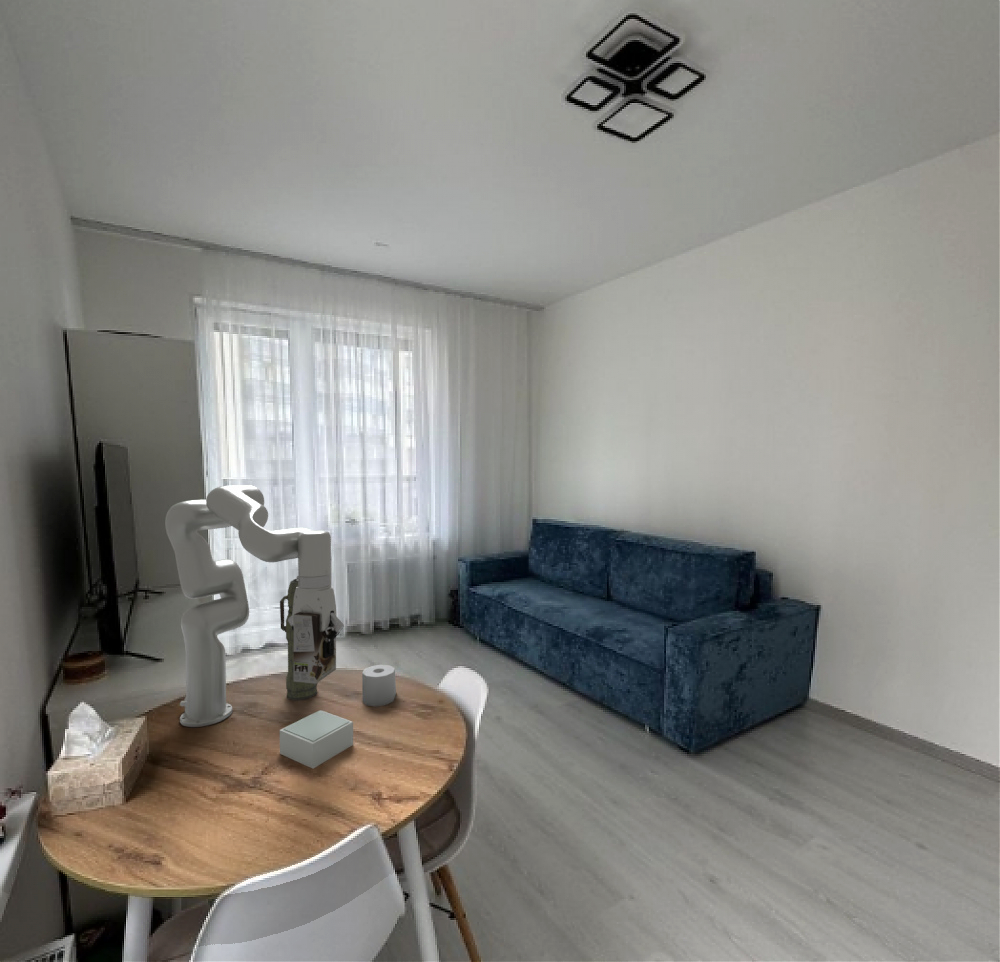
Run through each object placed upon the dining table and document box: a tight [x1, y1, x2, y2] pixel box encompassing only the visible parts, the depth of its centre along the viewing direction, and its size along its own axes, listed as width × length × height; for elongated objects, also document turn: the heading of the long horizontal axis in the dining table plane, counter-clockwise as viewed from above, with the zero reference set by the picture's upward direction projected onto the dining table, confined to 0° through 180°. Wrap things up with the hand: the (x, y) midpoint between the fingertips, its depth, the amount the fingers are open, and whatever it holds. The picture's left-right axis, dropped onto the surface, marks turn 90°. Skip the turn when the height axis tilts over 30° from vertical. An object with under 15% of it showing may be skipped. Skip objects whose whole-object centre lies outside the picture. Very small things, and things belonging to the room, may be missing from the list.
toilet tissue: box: [361, 664, 397, 707], centre depth 154 cm, size 9×13×9 cm
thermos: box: [279, 578, 319, 701], centre depth 156 cm, size 9×12×35 cm
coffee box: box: [294, 612, 337, 684], centre depth 124 cm, size 9×6×16 cm
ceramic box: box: [279, 709, 354, 769], centre depth 125 cm, size 12×12×6 cm
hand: (315, 653), depth 124 cm, fingers closed on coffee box, 7 cm apart
